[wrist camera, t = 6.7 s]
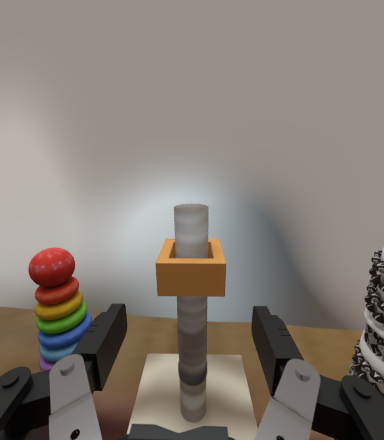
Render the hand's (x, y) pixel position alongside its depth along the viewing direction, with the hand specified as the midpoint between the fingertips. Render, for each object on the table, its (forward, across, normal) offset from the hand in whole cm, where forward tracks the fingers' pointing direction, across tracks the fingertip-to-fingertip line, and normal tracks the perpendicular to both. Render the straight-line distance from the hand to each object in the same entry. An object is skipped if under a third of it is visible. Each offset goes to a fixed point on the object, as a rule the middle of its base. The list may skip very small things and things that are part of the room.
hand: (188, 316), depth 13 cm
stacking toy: (+13, +18, +20) cm, 30 cm away
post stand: (+7, 0, +20) cm, 21 cm away
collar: (+7, 0, +1) cm, 7 cm away
